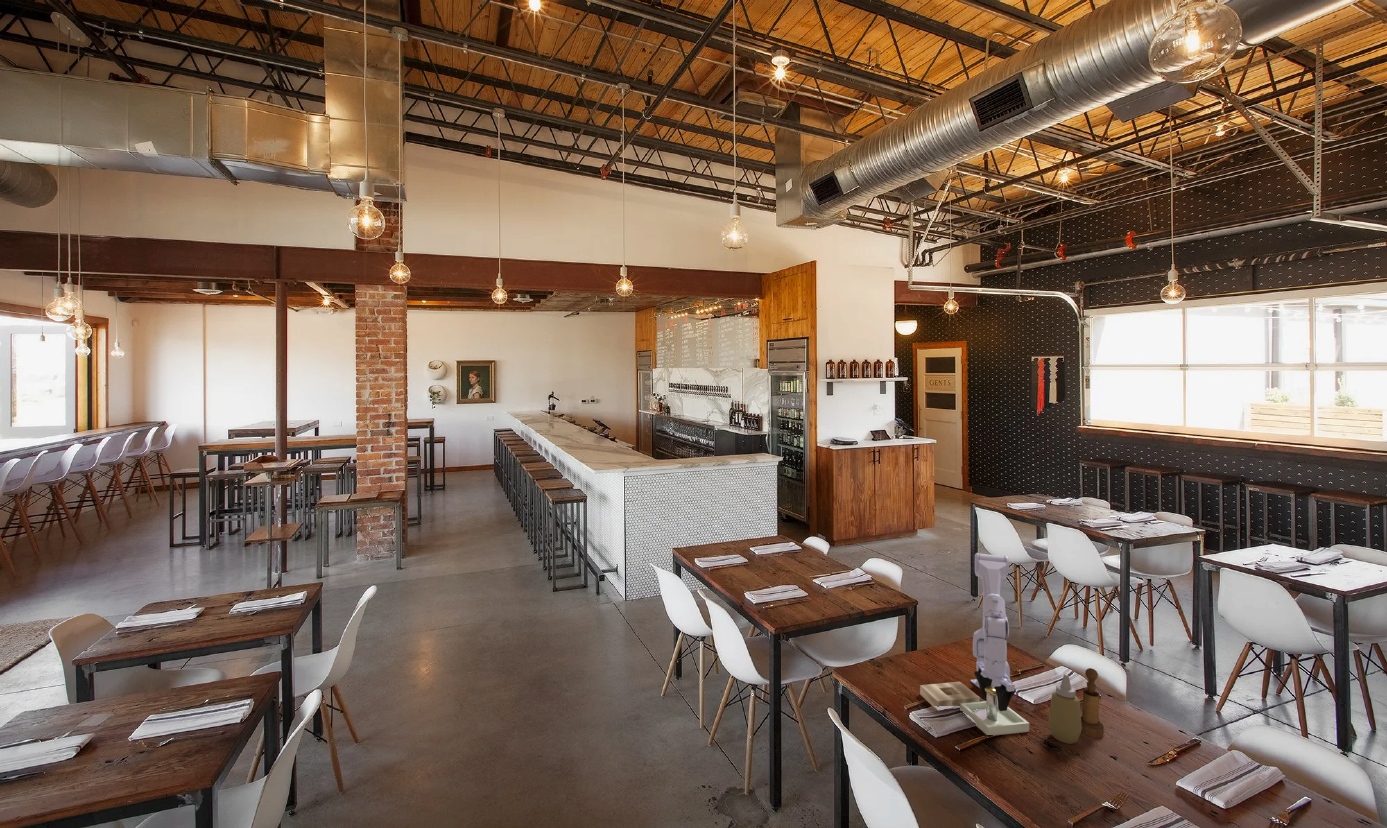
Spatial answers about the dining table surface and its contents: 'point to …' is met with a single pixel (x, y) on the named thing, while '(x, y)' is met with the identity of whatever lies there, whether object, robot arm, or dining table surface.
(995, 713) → the pin
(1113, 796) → the dining table surface
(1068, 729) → the squeeze bottle
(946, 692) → the hitch block
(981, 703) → the tray
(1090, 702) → the wooden pepper mill
